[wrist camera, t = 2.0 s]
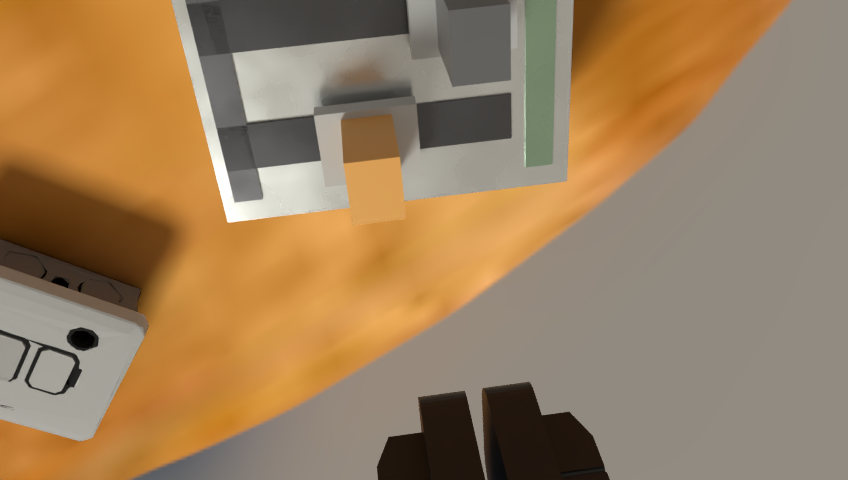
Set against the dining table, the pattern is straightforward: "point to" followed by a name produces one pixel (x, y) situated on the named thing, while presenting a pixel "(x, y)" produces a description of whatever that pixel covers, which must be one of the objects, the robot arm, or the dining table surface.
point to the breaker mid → (465, 37)
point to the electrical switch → (62, 342)
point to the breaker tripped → (370, 154)
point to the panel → (367, 99)
